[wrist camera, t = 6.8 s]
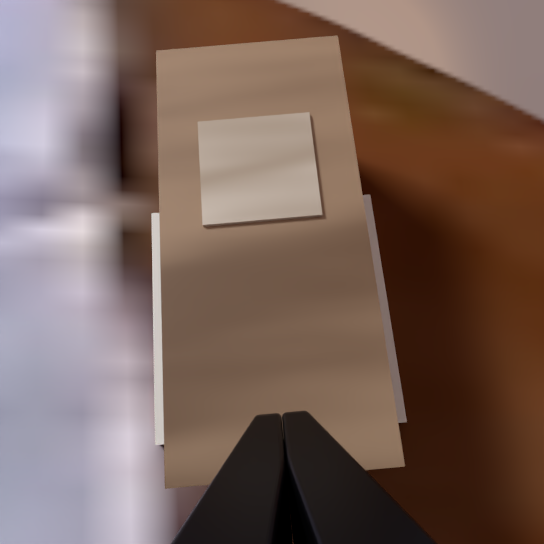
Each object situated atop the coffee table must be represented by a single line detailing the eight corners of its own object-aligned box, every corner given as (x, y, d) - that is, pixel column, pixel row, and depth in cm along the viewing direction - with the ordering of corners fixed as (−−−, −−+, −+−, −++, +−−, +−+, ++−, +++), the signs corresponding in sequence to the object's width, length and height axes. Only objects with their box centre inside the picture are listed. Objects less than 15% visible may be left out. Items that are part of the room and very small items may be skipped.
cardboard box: (406, 466, 9) (337, 32, 12) (163, 489, 9) (155, 47, 12) (366, 455, 14) (323, 137, 17) (201, 470, 14) (188, 148, 17)
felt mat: (403, 422, 14) (407, 422, 14) (158, 444, 14) (154, 445, 14) (367, 199, 16) (370, 194, 16) (154, 218, 16) (151, 213, 16)
